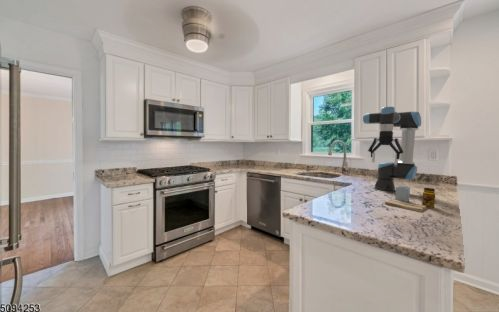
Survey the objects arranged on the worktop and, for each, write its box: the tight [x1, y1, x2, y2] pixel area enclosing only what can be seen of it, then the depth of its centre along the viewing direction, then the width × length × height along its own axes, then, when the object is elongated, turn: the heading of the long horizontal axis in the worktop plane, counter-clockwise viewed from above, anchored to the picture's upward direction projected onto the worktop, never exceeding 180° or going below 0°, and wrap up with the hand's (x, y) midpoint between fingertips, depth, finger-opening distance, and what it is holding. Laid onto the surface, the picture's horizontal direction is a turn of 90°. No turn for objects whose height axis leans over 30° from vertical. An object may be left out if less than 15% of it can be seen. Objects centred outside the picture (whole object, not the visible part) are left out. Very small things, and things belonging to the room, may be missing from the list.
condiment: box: [418, 187, 438, 210], centre depth 139 cm, size 7×8×12 cm
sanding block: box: [394, 185, 411, 203], centre depth 150 cm, size 8×6×10 cm
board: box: [384, 198, 427, 213], centre depth 139 cm, size 12×19×2 cm, turn 40°
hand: (384, 163), depth 146 cm, fingers open, 13 cm apart
